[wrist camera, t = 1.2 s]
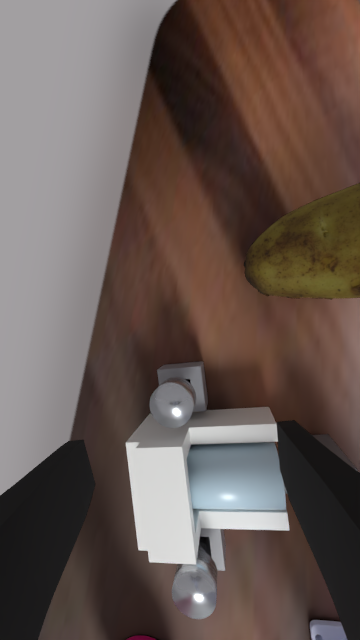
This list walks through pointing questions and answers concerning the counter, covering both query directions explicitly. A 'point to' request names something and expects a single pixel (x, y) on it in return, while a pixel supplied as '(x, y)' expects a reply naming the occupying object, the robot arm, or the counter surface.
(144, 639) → the pepper mill
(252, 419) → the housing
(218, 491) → the cartridge
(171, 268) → the counter surface
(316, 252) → the potato
